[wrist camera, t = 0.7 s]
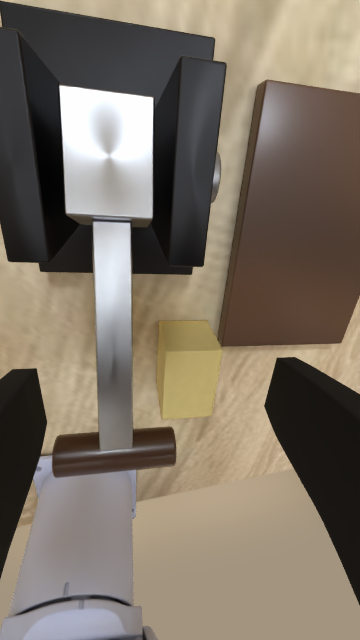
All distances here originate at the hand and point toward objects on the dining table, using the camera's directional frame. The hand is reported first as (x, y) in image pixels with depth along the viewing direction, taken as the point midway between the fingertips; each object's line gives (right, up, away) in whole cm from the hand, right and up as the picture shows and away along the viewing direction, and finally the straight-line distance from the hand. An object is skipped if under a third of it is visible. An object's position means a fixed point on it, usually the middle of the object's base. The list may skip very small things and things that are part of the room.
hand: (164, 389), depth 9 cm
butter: (+1, 0, +11) cm, 11 cm away
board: (+8, +7, +9) cm, 14 cm away
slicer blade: (-2, +3, +1) cm, 3 cm away
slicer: (-3, +10, +5) cm, 11 cm away
